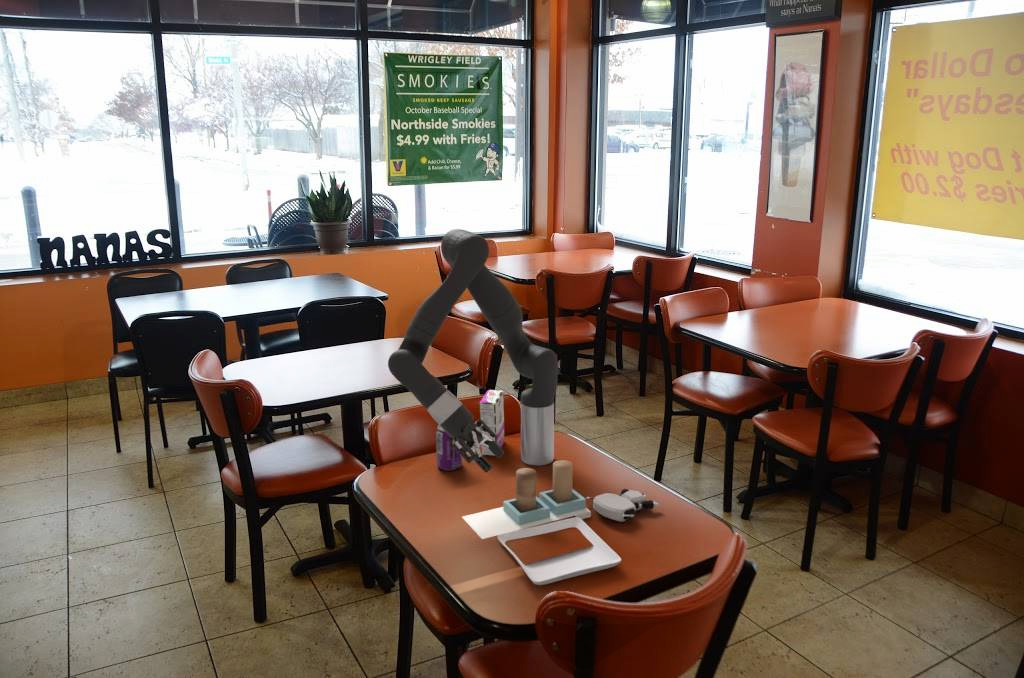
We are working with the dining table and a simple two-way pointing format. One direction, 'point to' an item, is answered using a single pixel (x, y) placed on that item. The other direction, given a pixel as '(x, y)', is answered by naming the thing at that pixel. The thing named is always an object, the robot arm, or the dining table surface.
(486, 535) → the base board
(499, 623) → the dining table surface
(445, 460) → the beverage can
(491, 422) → the candy bar box
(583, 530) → the salad plate
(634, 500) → the robot toy
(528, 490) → the walnut column
